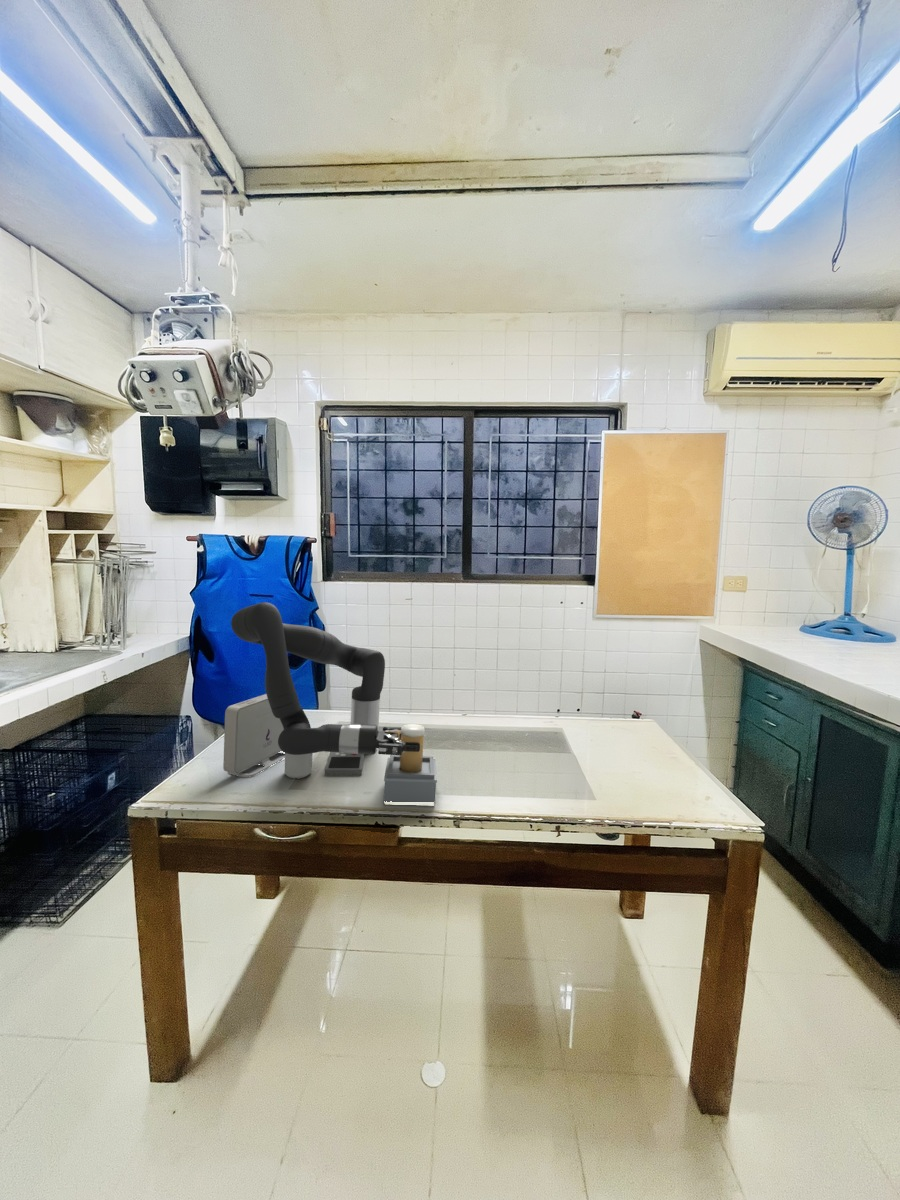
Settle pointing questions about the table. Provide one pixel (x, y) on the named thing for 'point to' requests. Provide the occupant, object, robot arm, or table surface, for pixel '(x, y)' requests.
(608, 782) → the table surface
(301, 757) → the can
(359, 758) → the electronic device
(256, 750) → the network device
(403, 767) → the glass of beer
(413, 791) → the grey case
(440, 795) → the table surface
